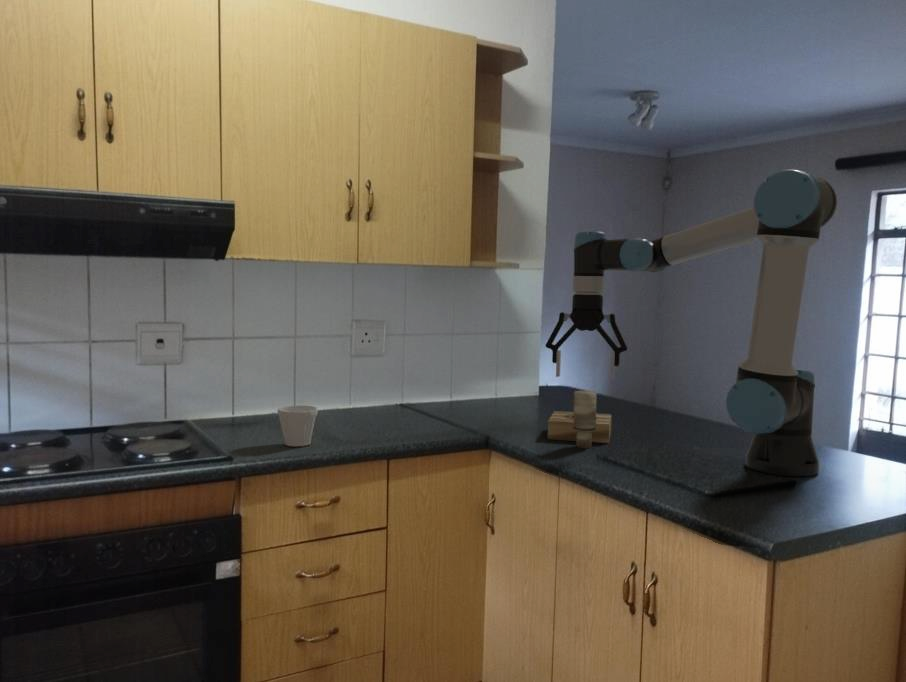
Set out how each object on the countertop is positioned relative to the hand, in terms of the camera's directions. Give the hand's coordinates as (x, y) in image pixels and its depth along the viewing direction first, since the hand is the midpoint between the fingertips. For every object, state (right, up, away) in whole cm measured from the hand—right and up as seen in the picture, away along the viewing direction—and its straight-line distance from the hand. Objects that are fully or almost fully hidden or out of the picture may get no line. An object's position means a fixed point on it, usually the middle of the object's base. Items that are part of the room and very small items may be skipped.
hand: (584, 377), depth 181 cm
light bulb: (0, -18, +1) cm, 18 cm away
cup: (-73, -17, -1) cm, 75 cm away
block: (+1, -17, +15) cm, 22 cm away
